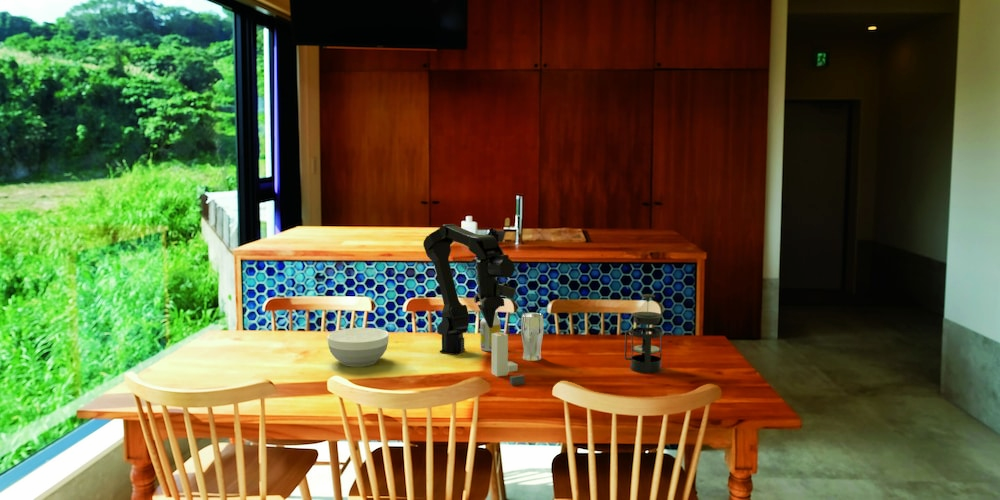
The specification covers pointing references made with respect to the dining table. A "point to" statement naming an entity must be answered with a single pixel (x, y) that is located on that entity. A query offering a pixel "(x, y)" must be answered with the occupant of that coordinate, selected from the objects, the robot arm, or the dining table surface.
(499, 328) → the supplement bottle
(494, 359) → the white rectangular block
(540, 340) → the beer glass
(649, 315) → the french press
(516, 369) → the console board
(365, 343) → the bowl
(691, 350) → the dining table surface
